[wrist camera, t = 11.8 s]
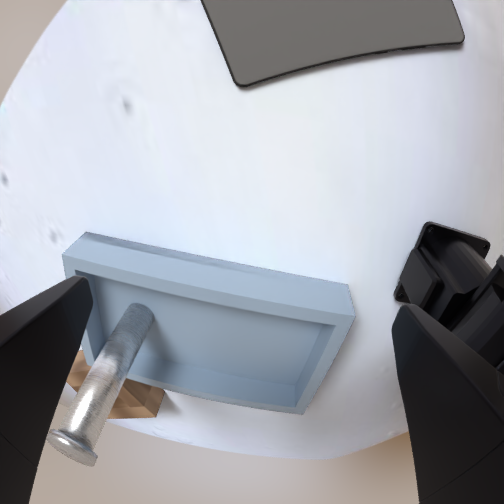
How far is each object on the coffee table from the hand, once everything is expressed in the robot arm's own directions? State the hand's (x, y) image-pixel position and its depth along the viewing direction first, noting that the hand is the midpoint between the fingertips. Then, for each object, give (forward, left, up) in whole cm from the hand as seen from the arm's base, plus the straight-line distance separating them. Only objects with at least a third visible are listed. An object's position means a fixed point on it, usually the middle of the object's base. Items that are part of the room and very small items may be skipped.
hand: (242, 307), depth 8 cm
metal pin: (+8, +12, -11) cm, 18 cm away
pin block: (+12, +23, -12) cm, 29 cm away
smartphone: (-2, -12, -13) cm, 17 cm away
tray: (+3, +12, -12) cm, 18 cm away
